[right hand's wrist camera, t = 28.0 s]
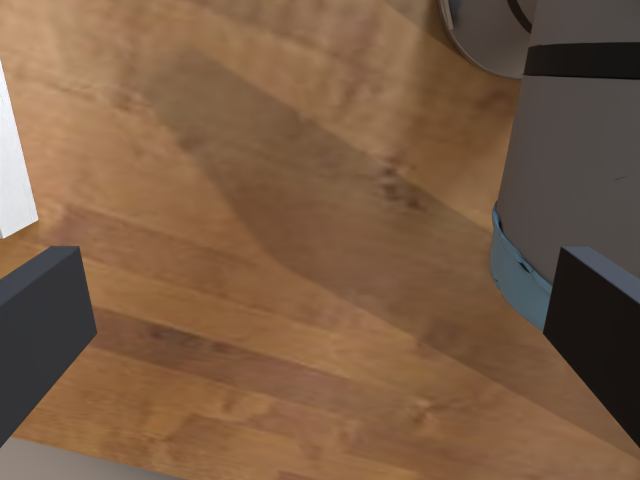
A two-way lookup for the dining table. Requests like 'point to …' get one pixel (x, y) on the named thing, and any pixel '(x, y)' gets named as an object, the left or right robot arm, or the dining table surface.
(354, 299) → the dining table surface
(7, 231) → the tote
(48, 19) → the dining table surface
